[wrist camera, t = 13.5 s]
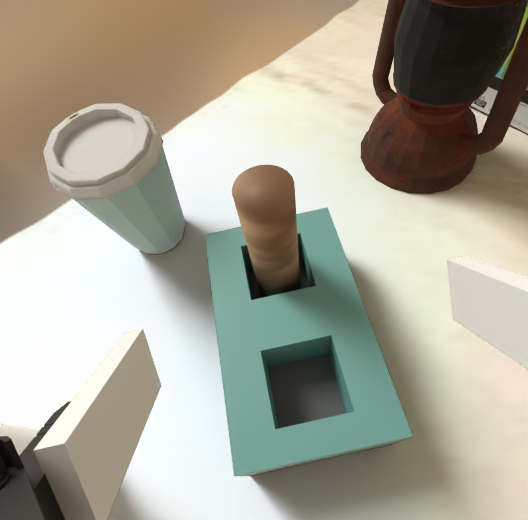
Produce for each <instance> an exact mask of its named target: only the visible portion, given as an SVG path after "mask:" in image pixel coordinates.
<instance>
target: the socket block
mask: <svg viewBox="0 0 528 520" xmlns="http://www.w3.org/2000/svg"><path fill="white" fill-rule="evenodd" d="M296 221H297V237H298V254H299V270H300V286H301V289H299V290H295V291H290V292H286V293H281V294H277V295H272V296H268V297H263V298H262V297H261V293H260V290H259V286H258V283H257V279H256V276H255V272H254V269H253V265H252V262H251V258H250V254H249V251H248V247H247V244H246V240H245V237H244V233H243V230H242V227H238V228H233V229H229V230H224V231H220V232H215V233H211V234H207V235H205V242H206V250H207V258H208V266H209V274H210V282H211V291H212V299H213V307H214V315H215V323H216V331H217V339H218V348H219V356H220V364H221V372H222V380H223V388H224V396H225V404H226V413H227V421H228V429H229V437H230V445H231V453H232V461H233V469H234V476H252V475H256V474H261V473H265V472H270V471H274V470H279V469H283V468H288V467H292V466H297V465H301V464H305V463H310V462H314V461H319V460H323V459H328V458H332V457H337V456H341V455H346V454H350V453H355V452H359V451H363V450H368V449H372V448H377V447H381V446H386V445H390V444H394V443H396V442H399V441H402V440H404V439H407V438H410V437H412V436H413V435H412V433H411V430H410V427H409V425H408V422H407V419H406V417H405V414H404V411H403V409H402V406H401V403H400V401H399V398H398V395H397V393H396V390H395V387H394V385H393V382H392V379H391V377H390V374H389V371H388V368H387V366H386V363H385V360H384V358H383V355H382V352H381V350H380V347H379V344H378V342H377V339H376V336H375V334H374V331H373V328H372V326H371V323H370V320H369V318H368V315H367V312H366V310H365V307H364V304H363V302H362V299H361V296H360V293H359V291H358V288H357V285H356V283H355V280H354V277H353V275H352V272H351V269H350V267H349V264H348V261H347V259H346V256H345V253H344V251H343V248H342V245H341V243H340V240H339V237H338V235H337V232H336V229H335V226H334V224H333V221H332V218H331V216H330V213H329V210H328V208H323V209H318V210H314V211H309V212H305V213H300V214H296Z"/></svg>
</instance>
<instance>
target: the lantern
mask: <svg viewBox="0 0 528 520" xmlns="http://www.w3.org/2000/svg"><path fill="white" fill-rule="evenodd" d="M527 3H528V0H389V1H388V5H387V10H386V15H385V19H384V24H383V28H382V33H381V38H380V42H379V47H378V52H377V56H376V61H375V65H374V70H373V75H372V76H373V85H374V88H375V92H376V95H377V96H378V98H379V99H380V101H381V102H382V103H383V104H384V106H383V107H382V108H381V109H380V111H379V112H378V113H377V115H376V116H375V118H374V120H373V122H372V124H371V126H370V128H369V131H367V132H366V134H365V136H364V138H363V140H362V142H361V159H362V162H363V164H364V166H365V168H366V170H367V171H368V172H369V173H370V174H371V175H372V176H373V177H374V178H375V179H376V180H378V181H379V182H381V183H383V184H385V185H387V186H389V187H390V188H393V189H397V190H401V191H404V192H408V193H428V194H429V193H434V192H439V191H444V190H447V189H449V188H451V187H453V186H455V185H457V184H459V183H461V182H462V181H463V180H464V179H465V178H466V176H467V175H468V174H469V173H470V172H471V171H472V169H473V166H474V163H475V160H476V154H478V155H481V154H483V153H486V152H489V151H491V150H493V149H494V148H495V147H497V146H498V145H499V144H500V143H501V142H502V141H503V138H504V136H505V134H506V132H507V130H508V128H509V125H510V123H511V121H512V119H513V117H514V115H515V113H516V110H517V108H518V106H519V104H520V102H521V100H522V97H523V95H524V93H525V91H526V89H527V87H528V17H527V20H526V22H525V25H524V27H523V30H522V32H521V35H520V37H519V40H518V42H517V45H516V47H515V50H514V52H513V55H512V57H511V60H510V62H509V65H508V67H507V70H506V72H505V75H504V77H503V80H502V82H501V85H500V88H499V90H498V93H497V95H496V98H495V100H494V103H493V105H492V108H491V110H490V113H489V115H488V118H487V120H486V123H485V125H484V128H483V130H482V133H480V134H478V129H477V123H476V118H475V115H474V113H473V112H472V111H471V109H470V108H469V107H470V106H471V104H472V103H473V102H474V101H475V100H477V99H478V98H479V97H480V96H481V95H482V94H483V93H484V92H485V91H486V90H487V88H488V85H489V84H490V83H491V81H492V80H493V79H494V77H495V76H496V74H497V73H498V71H499V70H500V68H501V67H502V65H503V63H504V62H505V60H506V59H507V57H508V56H509V54H510V52H511V51H512V49H513V48H514V45H515V41H516V38H517V35H518V32H519V29H520V26H521V23H522V20H523V17H524V14H525V10H526V7H527ZM393 57H394V73H393V79H394V86H395V88H396V91H397V93H395V92H394V91H393V90H392V89H391V87H390V84H389V80H388V77H389V73H390V69H391V65H392V61H393Z"/></svg>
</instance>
